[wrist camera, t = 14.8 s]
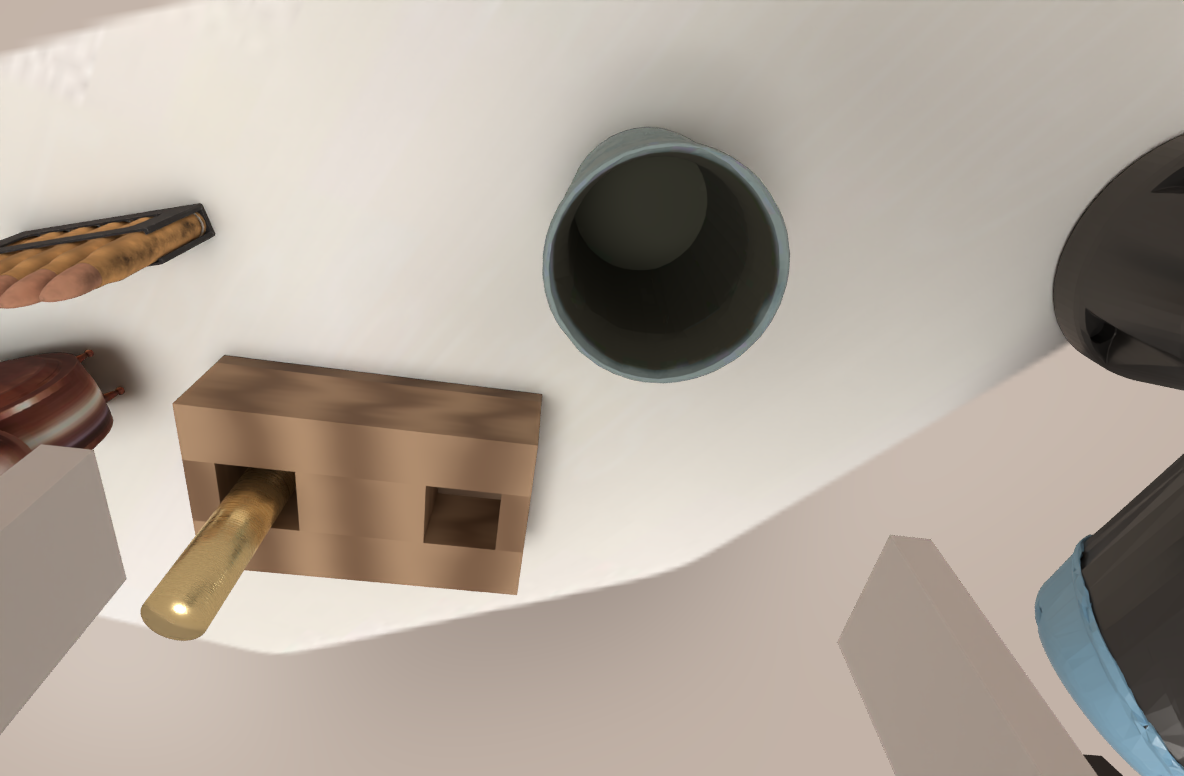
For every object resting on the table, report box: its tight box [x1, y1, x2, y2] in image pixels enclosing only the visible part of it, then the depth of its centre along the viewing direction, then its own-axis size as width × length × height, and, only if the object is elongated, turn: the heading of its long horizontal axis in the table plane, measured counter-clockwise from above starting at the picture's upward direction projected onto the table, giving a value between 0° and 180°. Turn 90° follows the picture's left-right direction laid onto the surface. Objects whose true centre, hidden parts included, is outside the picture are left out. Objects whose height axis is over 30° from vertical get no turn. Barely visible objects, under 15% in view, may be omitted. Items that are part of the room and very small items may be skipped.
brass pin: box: [141, 467, 296, 641], centre depth 37 cm, size 3×3×14 cm
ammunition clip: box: [0, 203, 215, 309], centre depth 32 cm, size 11×2×12 cm, turn 98°
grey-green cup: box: [543, 127, 790, 383], centre depth 32 cm, size 10×10×12 cm
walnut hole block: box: [173, 355, 542, 595], centre depth 42 cm, size 20×12×6 cm, turn 81°
